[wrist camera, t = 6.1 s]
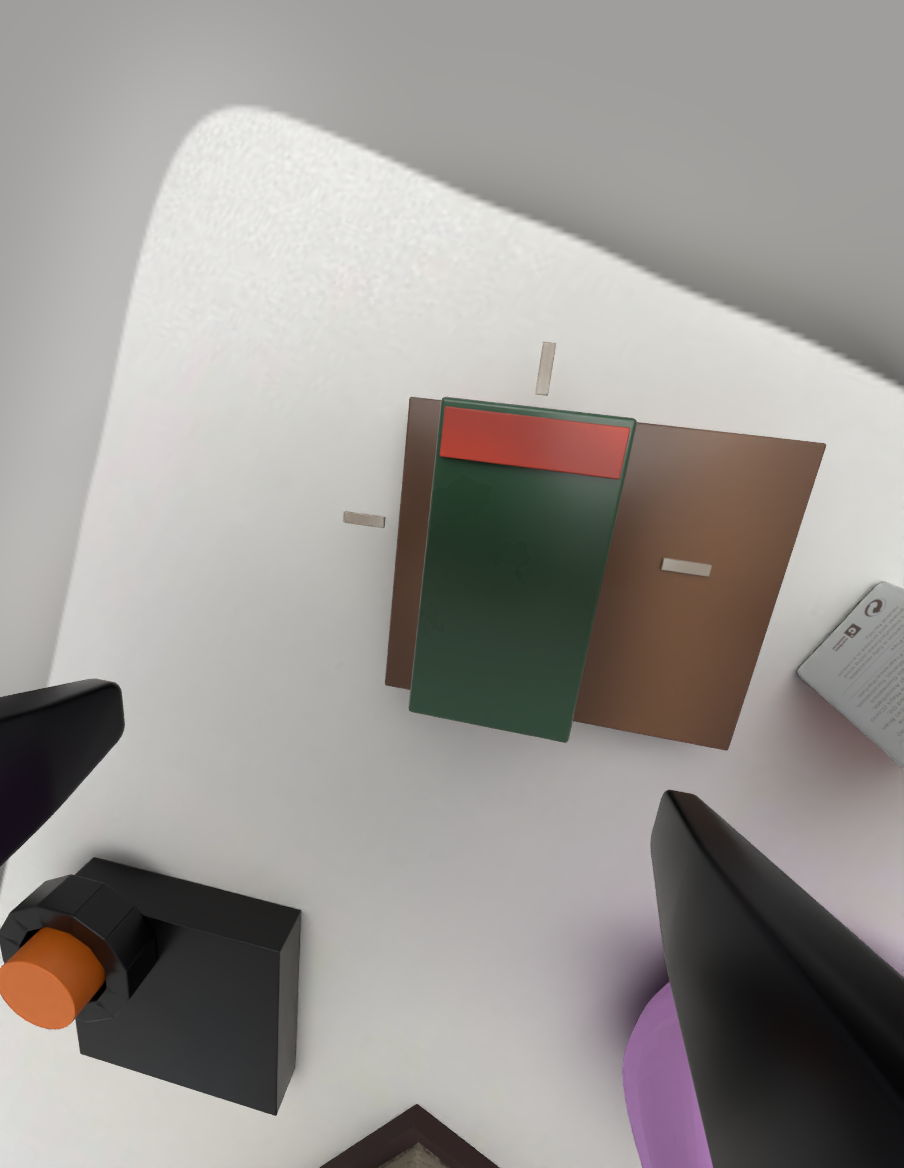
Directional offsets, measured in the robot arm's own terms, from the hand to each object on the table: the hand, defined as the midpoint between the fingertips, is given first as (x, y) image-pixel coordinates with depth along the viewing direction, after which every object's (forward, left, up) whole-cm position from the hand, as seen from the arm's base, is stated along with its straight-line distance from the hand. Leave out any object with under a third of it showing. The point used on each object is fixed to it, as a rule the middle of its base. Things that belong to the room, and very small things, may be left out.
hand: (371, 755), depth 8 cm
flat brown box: (+3, +2, -12) cm, 12 cm away
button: (-16, -21, -8) cm, 28 cm away
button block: (-13, -24, -12) cm, 30 cm away
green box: (+2, +2, -9) cm, 10 cm away
